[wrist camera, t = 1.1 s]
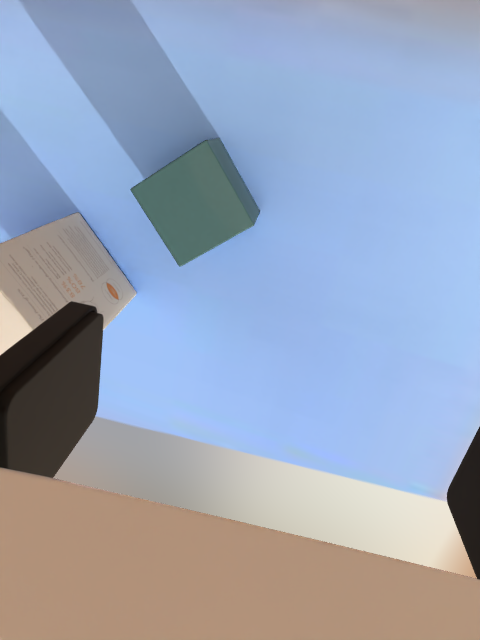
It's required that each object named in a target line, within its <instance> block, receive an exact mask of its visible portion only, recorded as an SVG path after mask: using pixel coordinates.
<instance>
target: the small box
mask: <svg viewBox="0 0 480 640" xmlns="http://www.w3.org/2000/svg"><path fill="white" fill-rule="evenodd" d="M136 294H137V293H136V291H135V290H134V288H133V287H132V286H131V284H130V283H129V281H128V280H127V279H126V277H125V276H124V274H123V273H122V272H121V270H120V269H119V267H118V266H117V265H116V263H115V262H114V260H113V259H112V258H111V256H110V255H109V253H108V252H107V251H106V249H105V248H104V246H103V245H102V244H101V242H100V241H99V240H98V238H97V237H96V235H95V234H94V233H93V231H92V230H91V229H90V227H89V226H88V224H87V223H86V222H85V220H84V219H83V217H82V216H81V215H80V213H78V212H77V213H75V214H72V215H69V216H67V217H64V218H62V219H59V220H56V221H54V222H51V223H48V224H46V225H44V226H41V227H39V228H36V229H34V230H32V231H29V232H27V233H25V234H22V235H20V236H18V237H15V238H13V239H10V240H8V241H5V242H3V243H0V355H1V354H2V353H4V352H5V351H6V350H8V349H9V348H10V347H12V346H13V345H14V344H16V343H17V342H18V341H19V340H21V339H22V338H23V337H25V336H26V335H27V334H29V333H30V332H31V331H32V330H34V329H35V328H36V327H38V326H39V325H40V324H42V323H43V322H44V321H46V320H47V319H48V318H49V317H51V316H52V315H53V314H55V313H56V312H57V311H59V310H60V309H61V308H62V307H64V306H65V305H66V304H68V303H69V302H71V301H73V302H78V303H82V304H87V305H91V306H95V307H96V308H97V313H100V314H102V315H103V318H104V322H103V330H104V329H105V328H106V327H107V325H108V324H109V323H110V322H111V321H112V320H113V319H114V318H115V317H116V316H117V315H118V314H119V313H120V312H121V311H122V310H123V308H124V307H125V306H126V305H127V304H128V303H129V302H130V301H131V300H132V299H133V298H134V296H135V295H136Z"/></svg>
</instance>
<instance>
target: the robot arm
mask: <svg viewBox="0 0 480 640" xmlns="http://www.w3.org/2000/svg"><path fill="white" fill-rule="evenodd" d="M103 322H104V318H103V315H102V314H100V313H97V308H96V307H95V306H91V305H87V304H82V303H78V302H73V301H71V302H69V303H68V304H66V305H65V306H64V307H62V308H61V309H60V310H59V311H57V312H56V313H55V314H53V315H52V316H51V317H49V318H48V319H47V320H46V321H44V322H43V323H42V324H40V325H39V326H38V327H36V328H35V329H34V330H32V331H31V332H30V333H29V334H27V335H26V336H25V337H23V338H22V339H21V340H19V341H18V342H17V343H16V344H14V345H13V346H12V347H10V348H9V349H8V350H6V351H5V352H4V353H2V354H1V355H0V640H480V427H479V429H478V431H477V433H476V435H475V437H474V439H473V441H472V443H471V445H470V447H469V449H468V451H467V453H466V455H465V457H464V459H463V460H462V462H461V464H460V466H459V468H458V470H457V472H456V474H455V476H454V478H453V480H452V482H451V484H450V486H449V489H448V492H447V502H448V506H449V508H450V511H451V513H452V516H453V518H454V521H455V524H456V526H457V528H458V531H459V534H460V536H461V539H462V541H463V544H464V546H465V549H466V551H467V554H468V557H469V559H470V561H471V564H472V567H473V569H474V572H475V574H476V577H477V579H476V578H472V577H468V576H464V575H459V574H455V573H451V572H447V571H443V570H439V569H435V568H431V567H426V566H423V565H418V564H414V563H410V562H406V561H402V560H398V559H394V558H390V557H386V556H381V555H377V554H373V553H369V552H365V551H360V550H357V549H352V548H348V547H344V546H339V545H336V544H332V543H327V542H323V541H319V540H314V539H310V538H306V537H302V536H298V535H294V534H289V533H285V532H281V531H277V530H273V529H268V528H264V527H260V526H256V525H251V524H247V523H243V522H238V521H235V520H230V519H226V518H222V517H218V516H213V515H208V514H205V513H201V512H196V511H192V510H188V509H184V508H179V507H175V506H170V505H166V504H162V503H157V502H153V501H148V500H144V499H140V498H136V497H131V496H127V495H123V494H118V493H114V492H110V491H106V490H101V489H97V488H93V487H89V486H84V485H80V484H75V483H71V482H67V481H63V480H59V479H54V478H53V477H54V476H55V474H56V473H57V471H58V470H59V469H60V467H61V466H62V464H63V463H64V461H65V460H66V459H67V457H68V456H69V454H70V453H71V451H72V450H73V448H74V447H75V446H76V444H77V443H78V441H79V440H80V438H81V437H82V436H83V434H84V433H85V431H86V430H87V428H88V427H89V426H90V424H91V423H92V421H93V420H94V418H95V415H96V412H97V408H98V396H99V381H100V366H101V352H102V337H103Z"/></svg>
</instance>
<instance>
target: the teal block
mask: <svg viewBox="0 0 480 640" xmlns="http://www.w3.org/2000/svg"><path fill="white" fill-rule="evenodd" d="M131 191H132V193H133V195H134V196H135V198H136V199H137V201H138V202H139V204H140V206H141V207H142V209H143V210H144V212H145V213H146V215H147V217H148V218H149V220H150V221H151V223H152V224H153V226H154V228H155V229H156V231H157V232H158V234H159V235H160V237H161V239H162V240H163V242H164V243H165V245H166V246H167V248H168V250H169V251H170V253H171V254H172V256H173V257H174V259H175V260H176V262H177V264H178V265H179V266H182V265H184V264H186V263H188V262H190V261H191V260H193V259H195V258H197V257H198V256H200V255H202V254H204V253H206V252H207V251H209V250H211V249H213V248H214V247H216V246H218V245H220V244H222V243H223V242H225V241H227V240H229V239H231V238H232V237H234V236H236V235H238V234H239V233H241V232H243V231H245V230H247V229H248V228H250V227H252V226H254V224H255V222H256V220H257V217H258V215H259V213H260V210H259V208H258V207H257V205H256V203H255V201H254V199H253V198H252V196H251V194H250V192H249V190H248V189H247V187H246V185H245V183H244V181H243V179H242V178H241V176H240V174H239V172H238V170H237V169H236V167H235V165H234V163H233V161H232V160H231V158H230V156H229V154H228V152H227V151H226V149H225V147H224V145H223V143H222V142H221V140H220V138H216V139H210V140H205V141H203V142H202V143H200V144H199V145H197V146H196V147H194V148H193V149H191V150H190V151H188V152H186V153H185V154H183V155H182V156H180V157H179V158H177V159H176V160H174V161H173V162H171V163H170V164H168V165H166V166H165V167H163V168H162V169H160V170H159V171H157V172H156V173H154V174H153V175H151V176H150V177H148V178H146V179H145V180H143V181H142V182H140V183H139V184H137V185H136V186H134V187H133V188H131Z"/></svg>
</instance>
